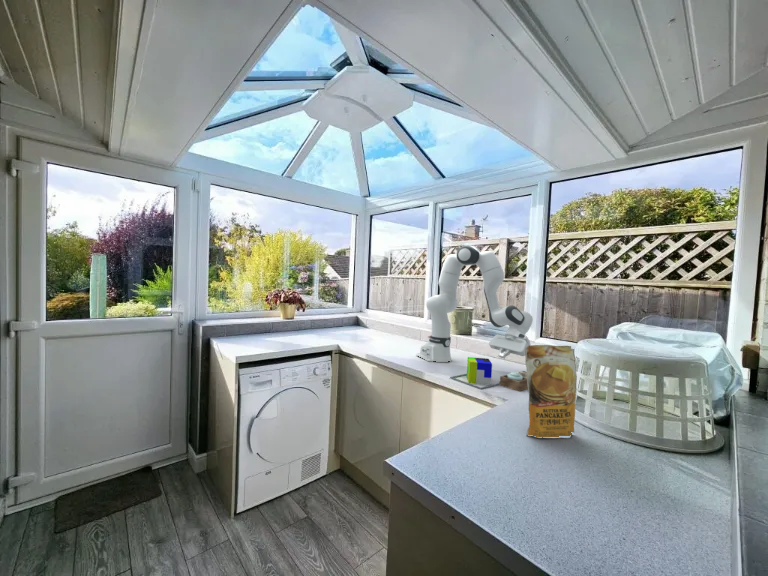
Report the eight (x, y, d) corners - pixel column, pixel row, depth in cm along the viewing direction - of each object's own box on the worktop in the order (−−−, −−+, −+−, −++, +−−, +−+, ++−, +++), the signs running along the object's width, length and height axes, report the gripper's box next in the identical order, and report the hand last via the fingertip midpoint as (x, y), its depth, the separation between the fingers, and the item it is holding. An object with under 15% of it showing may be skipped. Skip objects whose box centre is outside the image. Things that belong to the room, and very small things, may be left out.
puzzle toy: (490, 385, 149) (492, 363, 148) (468, 383, 150) (469, 361, 150) (487, 378, 159) (488, 358, 158) (466, 376, 160) (467, 357, 160)
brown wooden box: (499, 384, 150) (499, 372, 149) (518, 379, 159) (519, 368, 159) (518, 391, 142) (519, 378, 141) (538, 385, 151) (538, 373, 151)
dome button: (504, 378, 149) (505, 372, 149) (512, 376, 153) (512, 370, 153) (517, 382, 144) (517, 376, 144) (525, 380, 148) (525, 374, 147)
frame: (449, 378, 156) (449, 376, 156) (471, 373, 166) (471, 372, 166) (481, 389, 141) (481, 388, 141) (503, 384, 151) (503, 382, 151)
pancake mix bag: (514, 429, 103) (519, 343, 103) (568, 428, 106) (573, 344, 105) (526, 440, 97) (532, 347, 96) (583, 438, 99) (589, 348, 99)
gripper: (494, 329, 177) (482, 348, 172) (529, 336, 161) (517, 358, 155) (498, 337, 180) (486, 356, 175) (533, 345, 164) (521, 366, 158)
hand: (501, 357), depth 165 cm, fingers closed
